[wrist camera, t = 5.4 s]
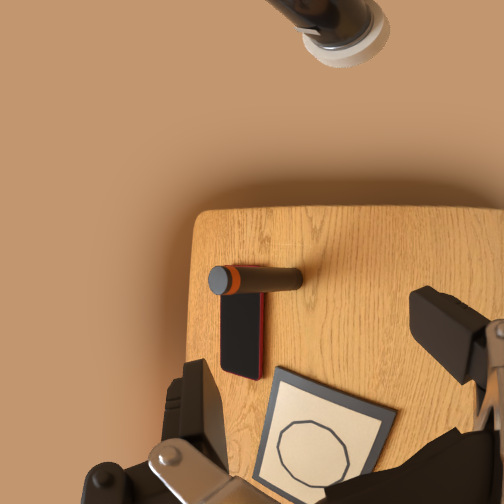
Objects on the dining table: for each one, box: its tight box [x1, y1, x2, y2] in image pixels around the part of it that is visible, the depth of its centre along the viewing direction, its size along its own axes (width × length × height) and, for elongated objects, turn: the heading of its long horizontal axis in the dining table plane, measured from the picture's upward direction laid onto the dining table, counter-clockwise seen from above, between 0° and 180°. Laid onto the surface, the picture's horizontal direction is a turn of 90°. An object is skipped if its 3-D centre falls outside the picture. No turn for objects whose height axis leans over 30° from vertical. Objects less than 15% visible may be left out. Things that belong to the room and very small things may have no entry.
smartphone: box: [220, 265, 264, 381], centre depth 41 cm, size 7×1×15 cm
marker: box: [208, 266, 303, 295], centre depth 33 cm, size 3×3×12 cm
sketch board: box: [252, 366, 398, 504], centre depth 33 cm, size 20×16×1 cm
